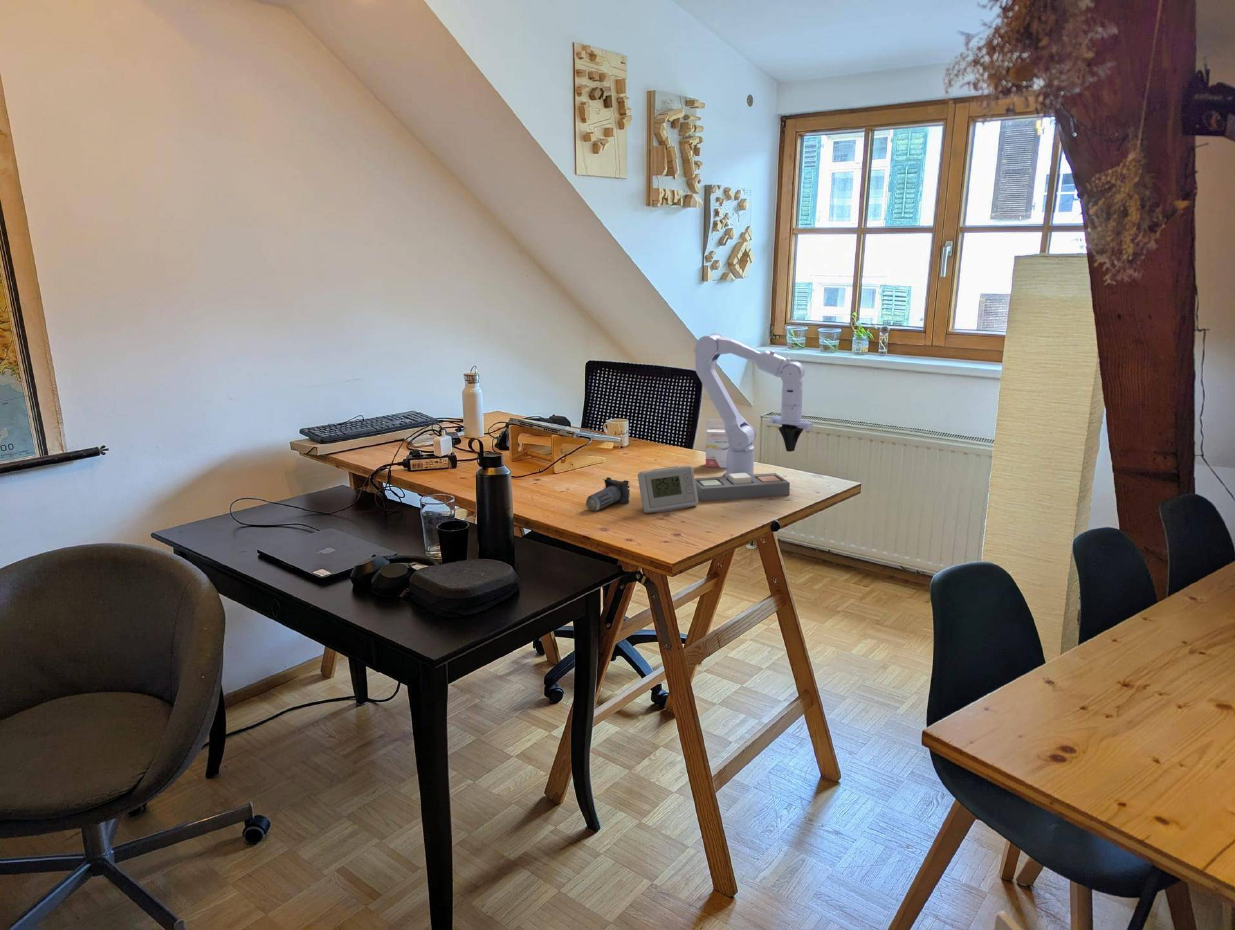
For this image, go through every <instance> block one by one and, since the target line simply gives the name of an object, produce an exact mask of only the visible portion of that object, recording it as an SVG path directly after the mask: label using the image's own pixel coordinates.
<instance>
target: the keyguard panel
mask: <svg viewBox="0 0 1235 930" xmlns="http://www.w3.org/2000/svg"><path fill="white" fill-rule="evenodd" d="M749 476H751V483H745V484H733V483H731V482H730V481H729V480H728V478H729V476H725V475H722V476H710V477H709V476H708V477H697V478H696V477H694V478H695V484H696V490H697V496H698V500H700V501H701V502H710V501H711V502H713V501H724V500H736V499H737V500H739V499H751V498H752V499H753V498H766V497H767V498H768V497H781V496H790V486H791V485H790V483H791V482H789V481H788V480H786V479H785V478H783V477H782V476H780V475H779V474H777V473H776V472H771V473H769V472H768V473H756V474H753V475H749ZM764 476H775V477H777V478H778V479H779V480H781V481H774V482H761V481H759V480H758V479H757V477H764ZM704 480H717V481H719V482H720V483H721V484H722V485H716V486H701V485H700V484H699V481H704Z"/></svg>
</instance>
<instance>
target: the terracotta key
mask: <svg viewBox="0 0 1235 930" xmlns="http://www.w3.org/2000/svg"><path fill="white" fill-rule="evenodd" d="M757 479H758V480H759V481H761V482H774V481H781V480H779V479H778V478H777V477H775V476H764V477H757Z"/></svg>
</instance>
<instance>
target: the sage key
mask: <svg viewBox="0 0 1235 930" xmlns="http://www.w3.org/2000/svg"><path fill="white" fill-rule="evenodd" d="M699 484H700V485H701V486H716V485H722V484H721V483H720V482H719V481H717V480H704V481H699Z"/></svg>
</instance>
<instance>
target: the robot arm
mask: <svg viewBox="0 0 1235 930" xmlns="http://www.w3.org/2000/svg"><path fill="white" fill-rule="evenodd" d="M693 352H694V355H695V358H694V359H695V361H694V362H695V363H694V365H695V373H696V375H697V376H698V378H699V380H700V382H701V384H702V386H703V388H705V390H706V392H707V394H708V396H709V398H710V400H711V401H712V404H713V406H714V407H715V409H716V410H717V413H718V414H719V416H720V418H721V420H723V422H724V423H723V425H724V424H725V432H726V434H727V437H728V444H729V446H730V449H729V450H728V452H727V467H726V469H725V470H726V471H725V472H723V473H722V474H723V476H729V474H734V473H747V474H748V475H753V474H754V470H755V466H754V465H755V464H754V463H755V460H754V459H755V446H754V445H753V443H754V441H755V440H756V438H757V432H756V430H755V428H754V427H753V426H752V425H751V424H749V423H748V421H747V419H746V418H745V417H743V416H742V415H741V414H740V411H738V409H737V407H736V405H735V403H734V401H733V399H732V398H731V396H730V394H729V392H728V390H727V389H726V387H725V385H724V383H723V381H722V379H721V378H720V376H719V375H718V373H717V371H716V365H717V362H718V360H719V358H720V356H721V355H727V354H732V355H735V356H737V357H739V358H742V359H745V360H747V361H750V362H751V363H752V362H753V363H754V364H756V366H757V368H758V370H760V371H763V372H765V373H767V374H769V375H771V376H774V377H776V378H780V379H781V381H782V386H781V387H782V388H781V408H780V409H781V410H780V413H781V415H780V416H778V415H773V416H770V417H769V419H770V420H769V423H770V424H775V425H781V426H779V427H778V431H779V433H780V434H781V437H782V440H783V443H784V446H785V451H786V452H795V449H796V446H797V443H798V440H799V438H800V436H801V434H802V432H803V430H806V431H811V430H814V423H813V422H810V421H809V420H804V419H802V417H803V416H802V415H803V412H802V410H803V409H802V408H803V390H804V389H803V378H804V377H805V374H806V373H805V372H806V370H805V369H806V368H805V367H804V365H803V364H802V363H800V362H799V361H798V360H791V358H790V357H786V358H785V357H783V356H781V355H778V354H777V353H776V351H775V350H773V349H772V350H771V349H770V351H769V350H765V351H761V352H760V351H759V350H756V349H754V348H752V347H749V346H748V345H746V344H743V343H741V342H740V341H737V340H735V339H733V338H731V337H728V336H726V335H722V334H720V333H716V332H715V333H711V334H709V335H704V336H701V337H699V338H698V340H697V342H696V343H695V347H694V348H693Z"/></svg>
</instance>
